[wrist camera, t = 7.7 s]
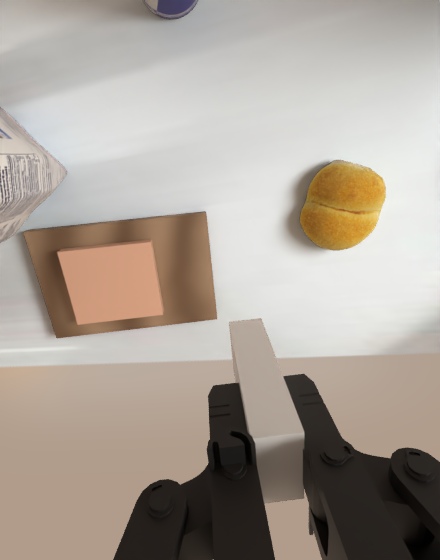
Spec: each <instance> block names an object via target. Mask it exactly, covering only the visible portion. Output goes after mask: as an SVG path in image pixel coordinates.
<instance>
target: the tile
mask: <svg viewBox="0 0 440 560" xmlns="http://www.w3.org/2000/svg"><path fill="white" fill-rule="evenodd" d="M57 253H58V257H59V261H60V264H61V268H62V271H63V275H64V278H65V282H66V285H67V289H68V292H69V296H70V299H71V303H72V307H73V310H74V314H75V317H76V321H77V324H78V325H81V324H89V323H98V322H106V321H115V320H123V319H131V318H140V317H148V316H157V315H163V312H164V308H163V302H162V296H161V290H160V284H159V279H158V273H157V267H156V261H155V255H154V249H153V243H152V239H150V240H140V241H131V242H122V243H112V244H103V245H94V246H84V247H75V248H66V249H61V250H60V251H58V252H57Z"/></svg>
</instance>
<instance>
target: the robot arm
mask: <svg viewBox="0 0 440 560" xmlns="http://www.w3.org/2000/svg"><path fill="white" fill-rule="evenodd" d="M229 326H230V337H231V347H232V358H233V368H234V375H235V381H236V383H231V384H224V385H215V386H213V387H212V389H211V391H210V393H209V395H208V402H209V424H210V440H209V442H208V446H207V454H208V461H209V463H208V465H207V467H206V468H205V470H204V471H203V472H202V473H201V474H200V475H198V476H197V477H195V478H193V479H192V480H190V481H188V482H185V483H183V484H181V485H180V484H178V482H175V481H172V480H169V479H167V480H159V481H157V482H154V483H152V484H150V485H149V486H148V487H147V488H146V489H145V490H143V492H142V493H141V495H140V496H139V498H138V500H137V502H136V504H135V507H134V509H133V512H132V514H131V517H130V520H129V522H128V524H127V527H126V529H125V532H124V534H123V537H122V539H121V542H120V544H119V547H118V549H117V552H116V554H115V557H114V559H113V560H213V559H214V560H275V557H274V552H273V547H272V541H271V536H270V531H269V526H268V521H267V515H266V511H265V505H264V503H271V502H280V501H287V500H295V499H303V498H304V489H305V492H306V495H307V498H308V502H309V534H310V535H313V530H314V534H315V537H316V540H317V543H318V547H319V550H320V554H321V557H322V560H440V462H439V461H438V460H436V459H435V458H434V457H432V456H431V455H429V454H428V453H425V452H423V451H421V450H418V449H414V448H402V449H398V450H396V451H395V452H394V453H393V454H392V456H391V459H390V458H384V457H377V456H372V455H367V454H363V453H361V452H359V451H357V450H355V449H354V448H353V447H352V445H351V444H349V443H348V442H346V441H345V440H343V438H342V437H341V435H340V433H339V431H338V429H337V427H336V425H335V424H334V421H333V419H332V417H331V415H330V413H329V412H328V410H327V408H326V405H325V404H324V403H323V400H322V398H321V396H320V395H319V392H318V390H317V388H316V386H315V384H314V382H313V381H312V380H310V379H309V378H308V377H307V376H306V375H305V374H299V375H290V376H283V375H282V372H281V370H280V367H279V364H278V362H277V359H276V356H275V354H274V351H273V348H272V346H271V343H270V340H269V338H268V335H267V333H266V330H265V327H264V325H263V322H262V319H261V318H259V319H251V320H242V321H233V322H229Z"/></svg>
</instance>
